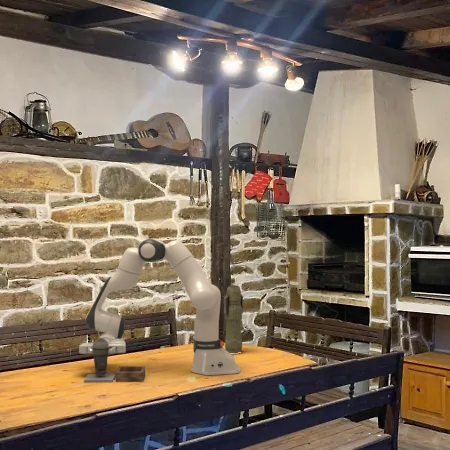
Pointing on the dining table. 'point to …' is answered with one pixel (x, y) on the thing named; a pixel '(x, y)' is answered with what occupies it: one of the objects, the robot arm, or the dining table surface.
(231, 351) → the thermos
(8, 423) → the dining table surface
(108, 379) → the slate mat
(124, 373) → the walnut collar
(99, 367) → the beverage cup
